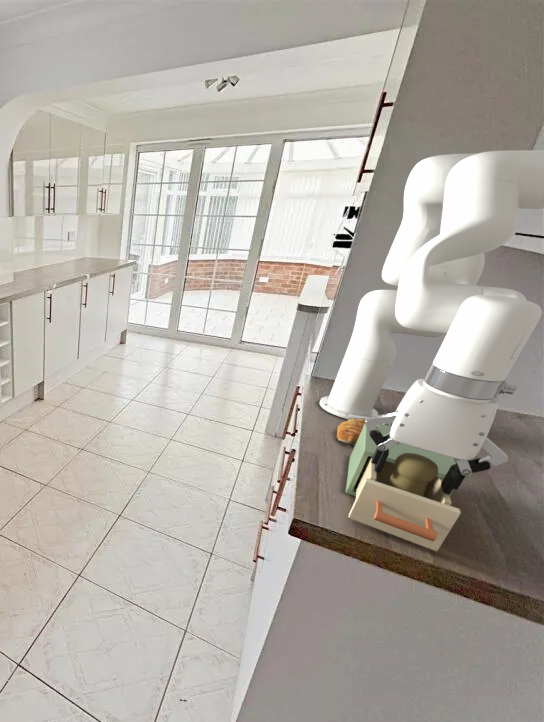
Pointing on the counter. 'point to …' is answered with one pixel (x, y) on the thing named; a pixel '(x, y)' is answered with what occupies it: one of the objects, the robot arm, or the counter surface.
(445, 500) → the drawer
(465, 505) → the counter surface
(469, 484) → the counter surface
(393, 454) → the cabinet
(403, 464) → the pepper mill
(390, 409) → the counter surface
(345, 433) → the pastry
